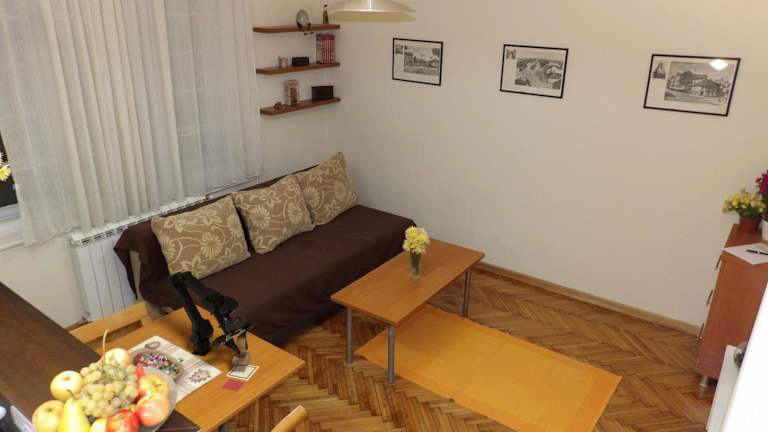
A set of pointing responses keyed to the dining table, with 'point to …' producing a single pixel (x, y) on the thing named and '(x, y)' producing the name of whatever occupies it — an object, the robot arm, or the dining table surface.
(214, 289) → the robot arm
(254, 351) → the dining table surface
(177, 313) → the dining table surface
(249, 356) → the stamp
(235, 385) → the ink pad
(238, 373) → the marked board
